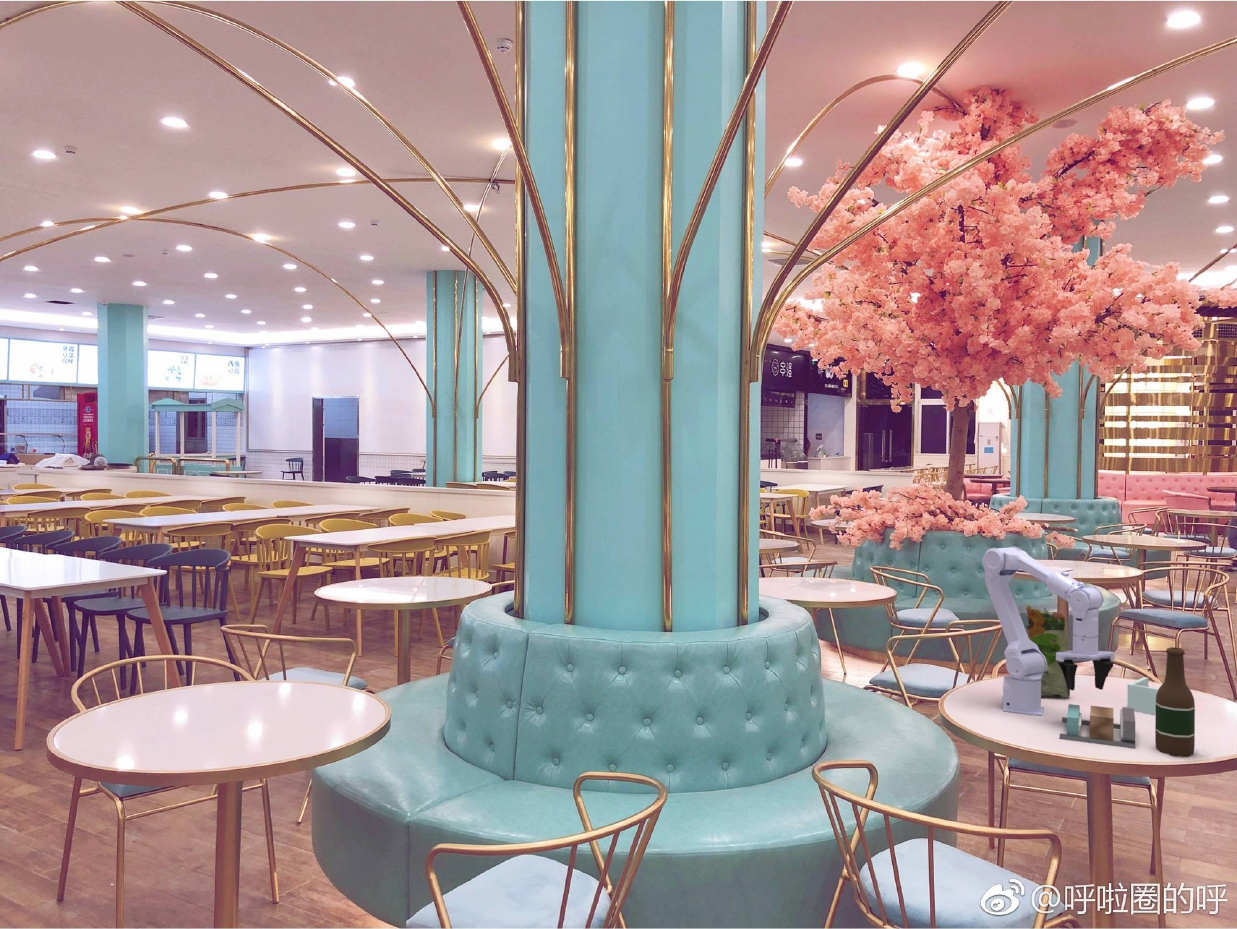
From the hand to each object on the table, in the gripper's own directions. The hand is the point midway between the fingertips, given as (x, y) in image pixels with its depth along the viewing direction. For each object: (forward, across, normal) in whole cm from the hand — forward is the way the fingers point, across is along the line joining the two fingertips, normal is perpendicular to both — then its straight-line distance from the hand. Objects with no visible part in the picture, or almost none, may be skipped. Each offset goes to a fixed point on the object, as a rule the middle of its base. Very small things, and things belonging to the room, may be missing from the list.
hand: (1084, 688), depth 233 cm
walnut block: (+10, 0, -7) cm, 12 cm away
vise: (+10, -2, -6) cm, 12 cm away
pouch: (+10, +8, +30) cm, 32 cm away
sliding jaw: (+9, -5, -4) cm, 11 cm away
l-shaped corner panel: (+10, +29, +12) cm, 33 cm away
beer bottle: (+10, +9, -21) cm, 24 cm away
